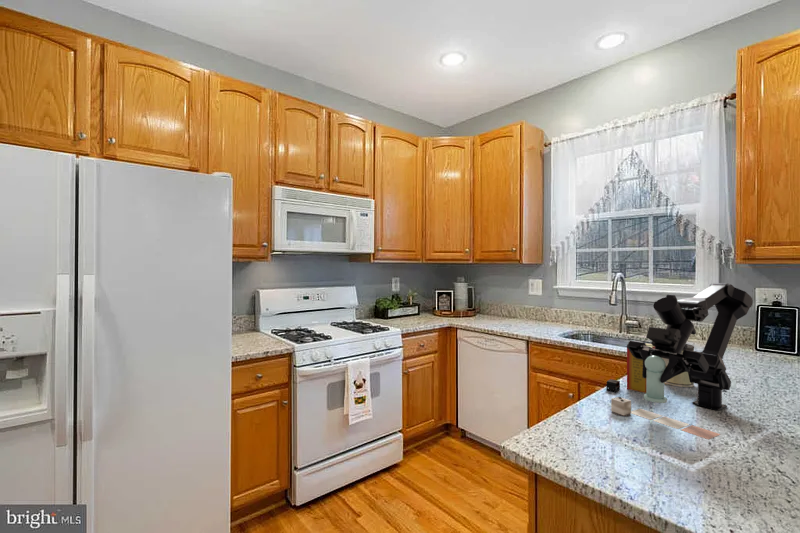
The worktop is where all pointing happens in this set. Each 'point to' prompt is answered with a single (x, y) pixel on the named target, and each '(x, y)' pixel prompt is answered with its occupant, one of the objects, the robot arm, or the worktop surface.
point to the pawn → (654, 379)
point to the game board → (624, 409)
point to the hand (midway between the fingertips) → (652, 379)
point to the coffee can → (682, 378)
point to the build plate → (612, 385)
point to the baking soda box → (636, 372)
